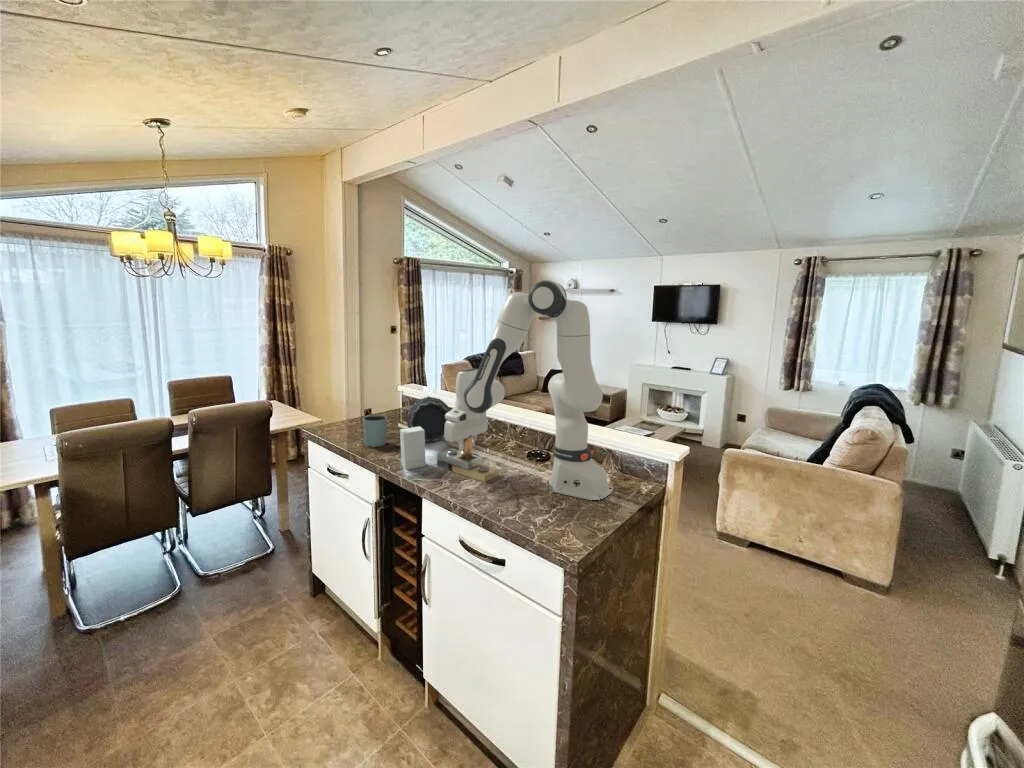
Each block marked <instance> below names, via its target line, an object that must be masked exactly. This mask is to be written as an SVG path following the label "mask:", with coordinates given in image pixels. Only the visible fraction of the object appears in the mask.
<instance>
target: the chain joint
mask: <svg viewBox="0 0 1024 768" xmlns="http://www.w3.org/2000/svg"><path fill="white" fill-rule="evenodd" d="M436 453H437V452H436ZM436 457H437V458H436V459H437V460H436V462H437V464H436V465H437V466H436V467H439V468H441V469H445V470H451V471H452V472H454V473H457V474H459V475H462V476H466V477H468V478H471V479H473V480H474V479H475V480H478V481H480V482H482V483H485V482H488V481H490V480H493V479H495V478H497V477H498V476H499V474H500V469H498V468H497V467H496V468H495V467H493V466H490V465H486V464H484V463H483V457H482V456H478V455H475V454H473V453H472V458H471V459H463V458H461V450H459V449H456V448H449V449H446V450H444V451H443V450H442V451H441V452H438V453H437V454H436Z"/></svg>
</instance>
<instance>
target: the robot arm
mask: <svg viewBox="0 0 1024 768" xmlns="http://www.w3.org/2000/svg"><path fill="white" fill-rule="evenodd" d="M538 314H539V315H541V316H542V315H543V316H546V317H549V318H552V319H554V320H555V323H556V357H557V361H558V363H559V364H560V366H561V371H562V372H559V373H556V374H554V375H552V376H551V378H550V379H549V381H548V385H547V390H548V393H549V395H550V398H551V399H552V400H551V401H552V407H553V413H554V417H555V419H554V420H555V443H554V445H553V466H552V469H551V475H550V478H549V481H548V484H549V486H550V487H551V488H552V491H553V492H554V493H557V494H561V495H564V496H565V495H566V496H570V497H575V498H579V499H585V500H588V501H592V500H599V501H601V500H600V499H603V498H605V497H607V496H608V495H609V494H610V493H611V492H612V491H613V492H614V486H613V487H611V488H612V489H609V487H610V486H608V485H607V484H608V478H607V473H606V471H605V470H604V469H603V468H602V467H601V466H600V465H599V464H598V463H597V462H596V461H595V460H594V459H593V458H592V455H593V454H594V451H595V450H594V449H592V450H590V449H589V446H588V437H589V436H588V435H589V423H588V420H586V419H587V418H586V416H585V413H592V412H594V411H596V410H597V409H599V407H600V406H601V404H602V402H603V396H604V395H603V390H602V388H601V387H600V386H599V383H598V381H597V379H596V376H595V375H596V374H595V372H594V367H593V364H592V357H591V354H592V353H591V323H590V322H591V321H590V316H589V315H590V314H589V310H588V306H587V305H586V304H585V303H584V302H582V301H579V300H573V299H572V300H571V299H568V297H567V292H566V289H565V288H564V286H562V284H560V283H558V282H556V281H555V280H550V279H549V280H548V279H547V280H540V281H538V282H536V283H535V284H533V285H532V286H531V288H530V290H529V292H528V293H525V292H522V291H516V292H512V293H510V294H509V295H508V296H507V299H506V300H505V302H504V304H503V306H502V308H501V310H500V313H499V315H498V317H497V318H498V319H497V321H496V323H495V327H494V329H493V333H492V335H491V338H490V340H489V343H488V345H487V348H486V350H485V353H484V354H483V357H482V359H481V361H480V364H479V367H478V369H477V368H475V367H474V368H467V369H462V370H459V372H458V373H457V375H456V380H455V397H456V398H455V399H456V400H455V407H453V408H451V409H450V411H449V412H448V413H446V414H445V419H447V421H446V422H445V428H444V437H443V438H444V440H445V441H446V442H450V443H455V442H456V443H457V445H458V450H459V451H462V450H465V445H463V443H462V442H463V439H465V438H468V437H469V436H470V435H472V448H473V447H475V444H476V440H477V438H478V435H480V434H484V433H486V432H487V430H488V429H489V427H488V417H487V411H488V410H489V409H491V408H493V407H495V406H496V405H498V404H500V403H501V402H503V400H504V399H505V396H506V389H505V386H504V384H503V383H502V382H501V381H500V380H498V379H496V378H497V375H498V373H499V370H500V367H501V365H502V364H503V362H504V361H505V360H506V359H507V358H508V357H509V356H510V355H511V354H512V353H514V352H516V351H517V350H519V349H520V348H521V347H522V345H523V342H524V341H525V340H526V337H527V335H528V331H529V330H530V327H531V323H532V321H533V319H534V318H535V316H537V315H538ZM608 497H609V496H608ZM608 497H607V498H608ZM605 499H606V498H605ZM603 500H604V499H603Z"/></svg>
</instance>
